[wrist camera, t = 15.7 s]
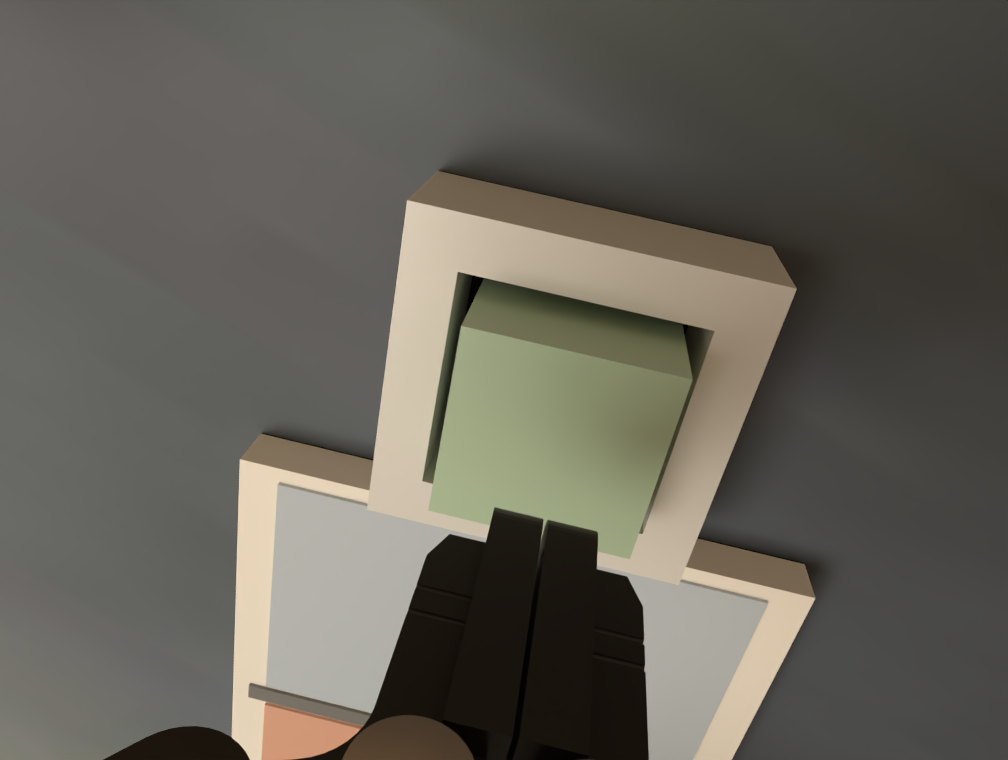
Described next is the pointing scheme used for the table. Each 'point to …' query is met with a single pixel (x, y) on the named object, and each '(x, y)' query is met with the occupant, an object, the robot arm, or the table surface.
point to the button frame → (588, 277)
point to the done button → (559, 413)
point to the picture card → (389, 589)
